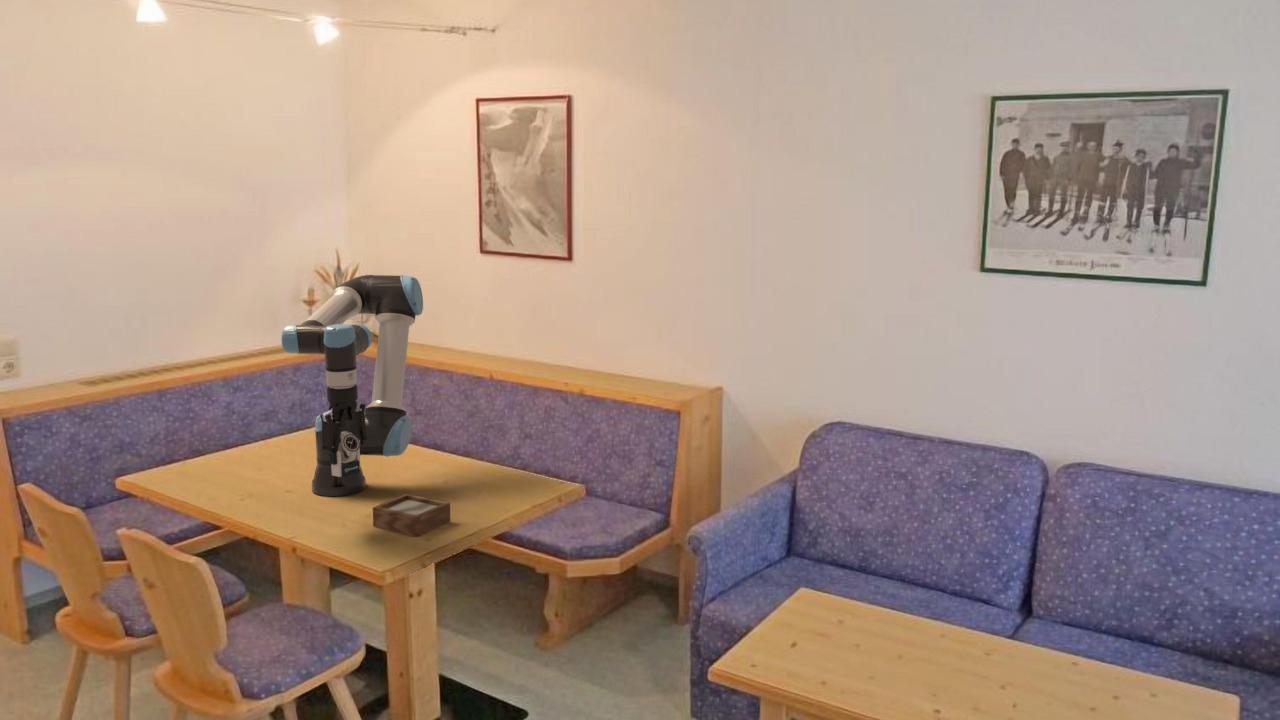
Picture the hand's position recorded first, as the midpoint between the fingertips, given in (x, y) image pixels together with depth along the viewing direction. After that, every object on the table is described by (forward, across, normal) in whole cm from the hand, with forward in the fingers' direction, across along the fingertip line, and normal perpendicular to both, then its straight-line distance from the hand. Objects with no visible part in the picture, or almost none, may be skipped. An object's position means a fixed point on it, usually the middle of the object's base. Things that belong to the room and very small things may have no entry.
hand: (346, 472), depth 259 cm
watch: (+1, 0, 0) cm, 1 cm away
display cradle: (+15, +9, -13) cm, 22 cm away
